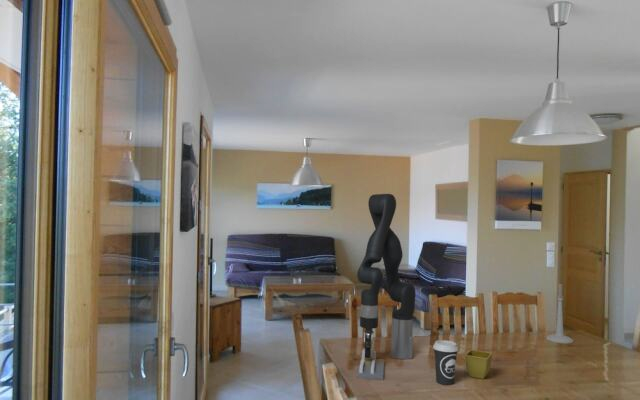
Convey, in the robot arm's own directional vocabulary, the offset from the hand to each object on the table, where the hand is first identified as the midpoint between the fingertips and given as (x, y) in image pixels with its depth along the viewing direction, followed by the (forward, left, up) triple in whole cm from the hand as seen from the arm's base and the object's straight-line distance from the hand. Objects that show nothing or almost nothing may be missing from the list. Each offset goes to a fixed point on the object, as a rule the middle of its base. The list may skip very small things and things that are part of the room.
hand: (368, 354), depth 198 cm
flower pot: (-44, 0, -6) cm, 44 cm away
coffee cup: (-30, +10, -6) cm, 32 cm away
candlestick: (-97, -70, -6) cm, 120 cm away
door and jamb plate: (-1, +2, -6) cm, 6 cm away
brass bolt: (0, -2, -4) cm, 5 cm away
